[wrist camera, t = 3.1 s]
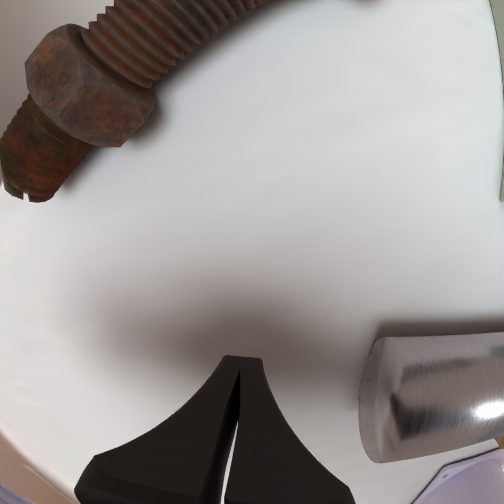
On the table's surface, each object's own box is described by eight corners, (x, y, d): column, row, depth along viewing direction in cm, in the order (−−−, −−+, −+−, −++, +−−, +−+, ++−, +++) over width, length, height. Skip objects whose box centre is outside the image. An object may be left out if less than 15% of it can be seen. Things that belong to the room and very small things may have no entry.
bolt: (68, 155, 12) (322, -44, 9) (89, 241, 11) (409, -1, 7) (-32, 116, 7) (276, -140, 3) (-48, 213, 6) (386, -135, 2)
